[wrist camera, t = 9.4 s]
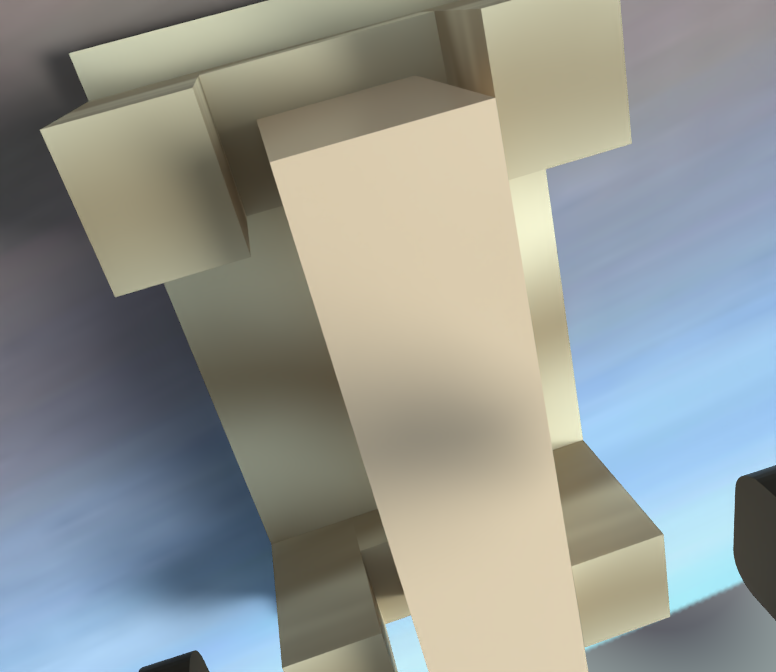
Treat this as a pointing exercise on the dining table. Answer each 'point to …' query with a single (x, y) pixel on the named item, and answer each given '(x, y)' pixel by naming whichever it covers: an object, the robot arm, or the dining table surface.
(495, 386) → the clay bar
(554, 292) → the rack
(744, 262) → the dining table surface
